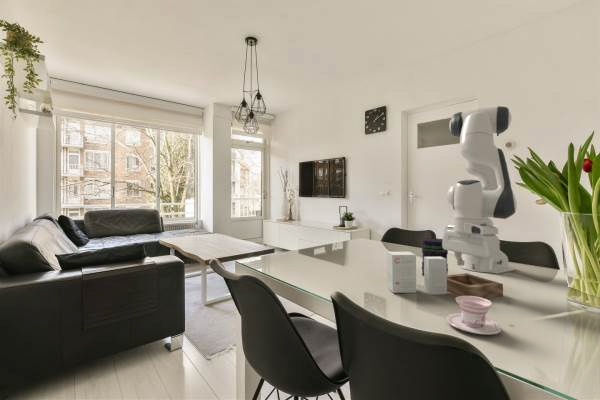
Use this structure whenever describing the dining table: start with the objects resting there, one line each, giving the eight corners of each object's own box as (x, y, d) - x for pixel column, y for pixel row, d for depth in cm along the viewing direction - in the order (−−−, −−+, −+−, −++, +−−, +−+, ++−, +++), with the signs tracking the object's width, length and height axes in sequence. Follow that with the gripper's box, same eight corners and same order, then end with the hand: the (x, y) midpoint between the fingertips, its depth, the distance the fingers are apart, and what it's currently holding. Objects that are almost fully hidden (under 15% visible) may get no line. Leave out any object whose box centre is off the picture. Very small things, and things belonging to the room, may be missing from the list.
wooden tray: (466, 284, 108) (466, 273, 108) (502, 296, 95) (502, 283, 95) (436, 287, 104) (436, 276, 104) (469, 300, 91) (469, 287, 91)
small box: (409, 287, 104) (409, 251, 104) (416, 293, 98) (416, 254, 98) (387, 287, 104) (387, 251, 104) (392, 293, 98) (392, 254, 98)
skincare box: (440, 290, 100) (440, 256, 100) (447, 294, 96) (447, 258, 96) (423, 290, 100) (423, 256, 100) (429, 294, 96) (429, 258, 96)
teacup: (479, 339, 66) (479, 312, 66) (435, 319, 77) (436, 296, 77) (512, 330, 70) (512, 304, 70) (466, 312, 81) (467, 290, 81)
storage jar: (449, 280, 113) (449, 242, 113) (422, 277, 117) (422, 240, 116) (445, 273, 123) (445, 238, 123) (420, 272, 126) (420, 237, 126)
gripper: (438, 224, 108) (437, 261, 108) (488, 230, 89) (488, 275, 89) (451, 224, 110) (451, 260, 110) (503, 229, 90) (503, 273, 90)
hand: (468, 267), depth 99 cm, fingers open, 5 cm apart
